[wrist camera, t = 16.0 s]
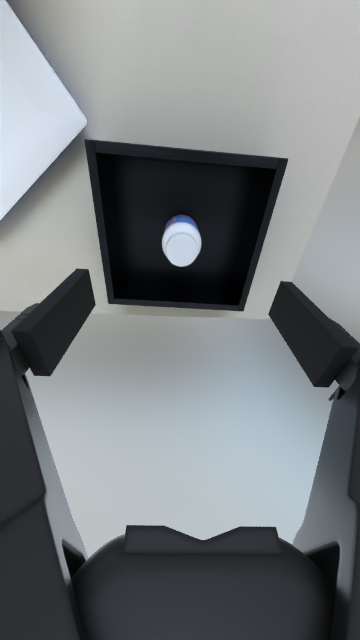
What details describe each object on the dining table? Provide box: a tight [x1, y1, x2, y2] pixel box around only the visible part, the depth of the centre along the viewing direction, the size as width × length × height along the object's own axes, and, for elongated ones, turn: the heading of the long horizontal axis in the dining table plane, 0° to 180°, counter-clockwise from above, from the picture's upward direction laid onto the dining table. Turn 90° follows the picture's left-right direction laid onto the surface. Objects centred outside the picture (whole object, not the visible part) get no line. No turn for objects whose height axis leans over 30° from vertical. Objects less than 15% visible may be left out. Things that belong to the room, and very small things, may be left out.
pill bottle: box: [162, 214, 201, 267], centre depth 30 cm, size 6×5×10 cm
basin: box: [85, 139, 288, 311], centre depth 31 cm, size 22×20×8 cm
